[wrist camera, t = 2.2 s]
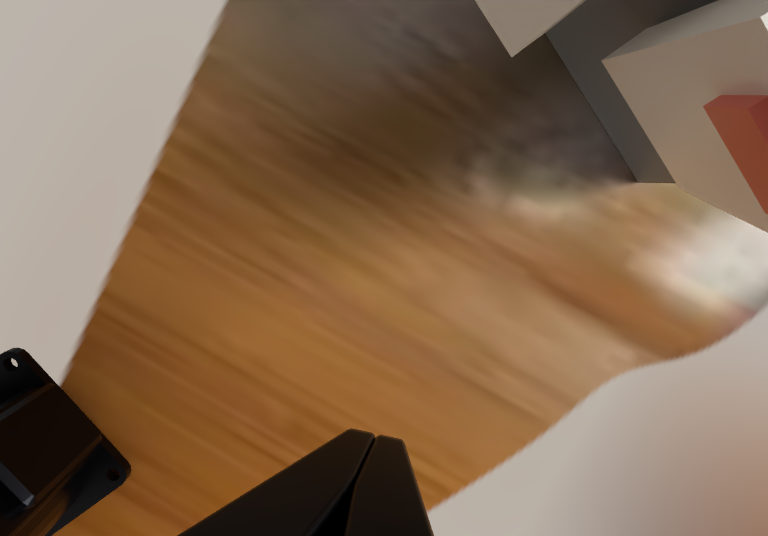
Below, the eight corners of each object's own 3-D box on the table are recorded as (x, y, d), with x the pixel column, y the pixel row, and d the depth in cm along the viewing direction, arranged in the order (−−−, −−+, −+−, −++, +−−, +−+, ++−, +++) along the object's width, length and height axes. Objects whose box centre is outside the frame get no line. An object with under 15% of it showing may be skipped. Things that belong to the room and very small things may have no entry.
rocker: (669, 194, 14) (893, 318, 6) (591, 67, 13) (734, 34, 6) (725, 162, 13) (1040, 253, 6) (646, 28, 12) (884, -66, 5)
